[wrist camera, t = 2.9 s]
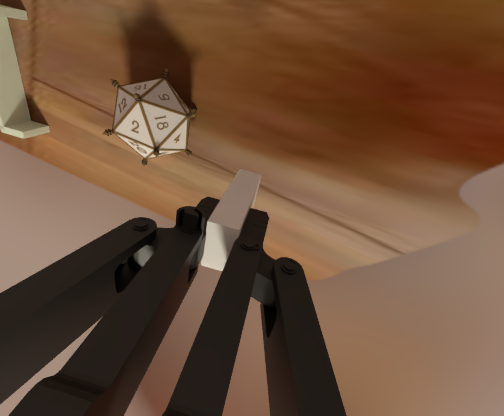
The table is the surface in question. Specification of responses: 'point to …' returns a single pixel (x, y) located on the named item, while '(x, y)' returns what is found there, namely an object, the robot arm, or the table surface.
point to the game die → (151, 118)
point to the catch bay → (13, 84)
